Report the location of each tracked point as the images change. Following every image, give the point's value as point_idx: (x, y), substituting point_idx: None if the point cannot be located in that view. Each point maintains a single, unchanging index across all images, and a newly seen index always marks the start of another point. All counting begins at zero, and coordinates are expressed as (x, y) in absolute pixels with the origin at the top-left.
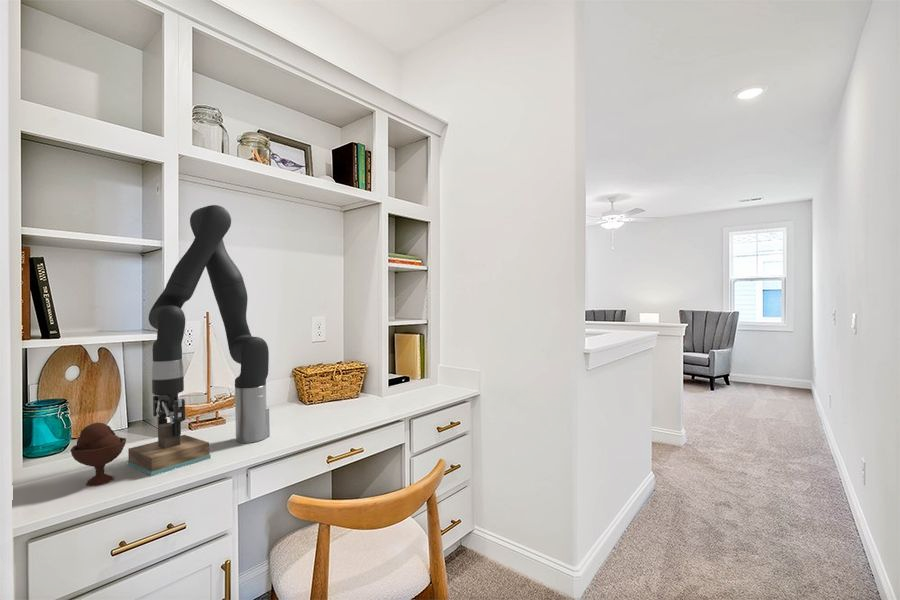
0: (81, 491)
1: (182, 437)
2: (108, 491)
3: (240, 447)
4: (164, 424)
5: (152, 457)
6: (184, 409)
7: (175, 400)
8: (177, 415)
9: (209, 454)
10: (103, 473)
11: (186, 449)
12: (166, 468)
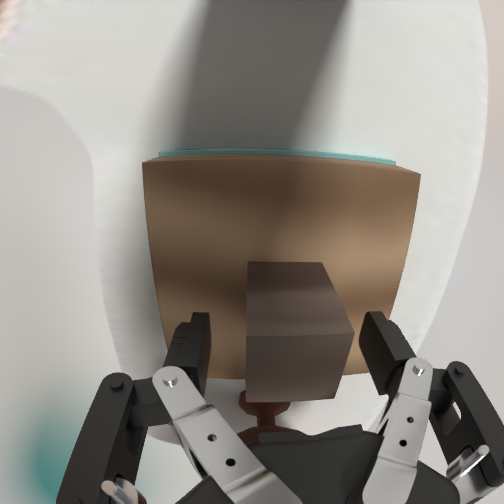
0: (292, 421)
1: (192, 194)
2: (346, 400)
3: (369, 24)
4: (275, 385)
5: (364, 369)
6: (494, 414)
7: (480, 498)
8: (459, 419)
9: (389, 161)
10: (273, 412)
11: (400, 272)
12: None
